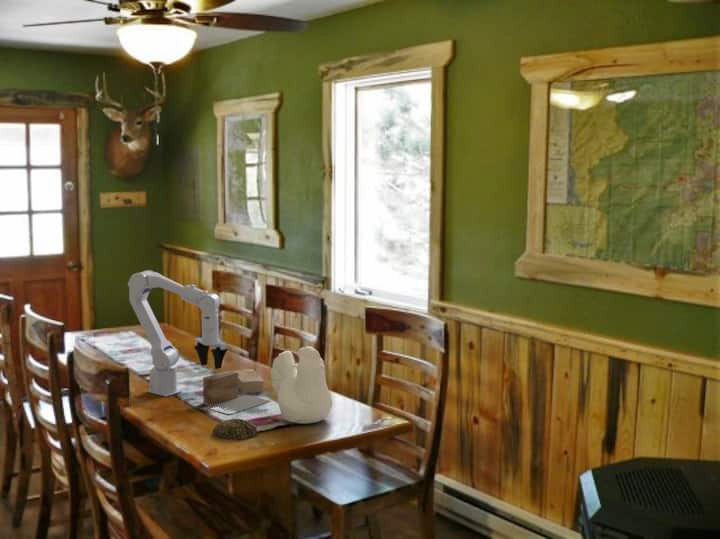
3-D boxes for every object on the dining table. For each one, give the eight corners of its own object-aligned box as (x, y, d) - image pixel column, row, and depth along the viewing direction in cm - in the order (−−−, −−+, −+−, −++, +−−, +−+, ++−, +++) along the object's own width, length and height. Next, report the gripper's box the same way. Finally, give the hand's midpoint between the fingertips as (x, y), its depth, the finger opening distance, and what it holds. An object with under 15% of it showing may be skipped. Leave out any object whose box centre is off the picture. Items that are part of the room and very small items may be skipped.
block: (203, 403, 267) (203, 377, 266) (228, 395, 276) (228, 370, 275) (212, 405, 264) (212, 379, 263) (237, 397, 274) (237, 372, 273)
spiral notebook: (205, 408, 260) (205, 408, 260) (247, 395, 277) (247, 394, 277) (229, 415, 254) (229, 414, 254) (270, 401, 270) (270, 400, 270)
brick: (265, 391, 283) (265, 379, 282) (242, 394, 279) (242, 381, 279) (252, 380, 298) (252, 368, 297) (230, 382, 294) (230, 370, 294)
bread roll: (206, 435, 236) (206, 419, 235) (235, 424, 246) (235, 409, 245) (238, 444, 229) (238, 428, 228) (266, 433, 239) (266, 417, 238)
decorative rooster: (340, 424, 248) (342, 348, 244) (296, 432, 239) (298, 353, 236) (302, 403, 268) (303, 332, 265) (261, 410, 260) (261, 337, 257)
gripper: (233, 329, 270) (233, 367, 272) (206, 324, 279) (206, 361, 281) (217, 332, 265) (217, 371, 266) (190, 327, 274) (190, 364, 276)
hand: (211, 366), depth 273 cm, fingers open, 7 cm apart
